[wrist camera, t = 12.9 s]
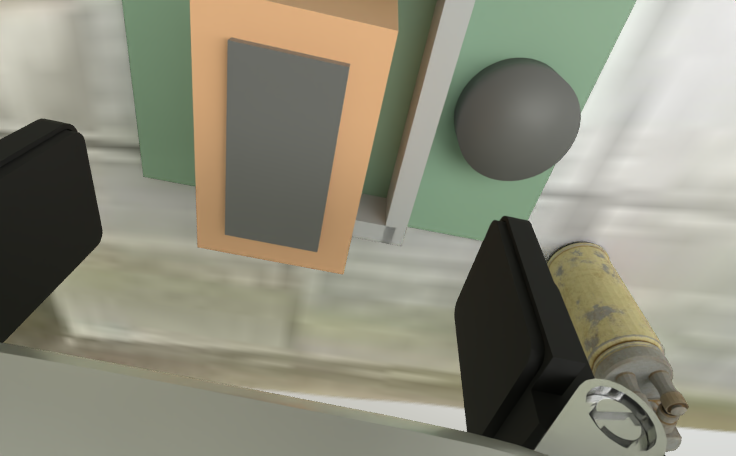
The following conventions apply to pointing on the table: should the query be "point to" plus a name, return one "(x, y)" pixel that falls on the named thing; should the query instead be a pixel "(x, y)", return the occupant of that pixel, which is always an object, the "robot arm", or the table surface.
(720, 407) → the table surface
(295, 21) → the chute block
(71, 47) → the table surface
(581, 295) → the lighter
